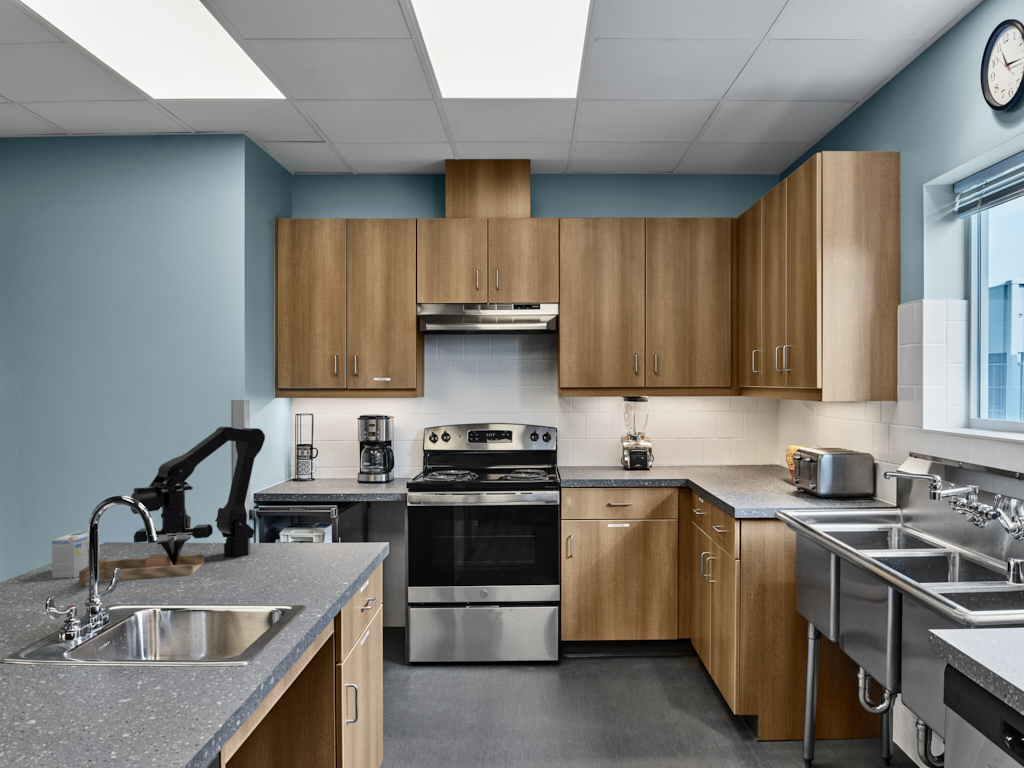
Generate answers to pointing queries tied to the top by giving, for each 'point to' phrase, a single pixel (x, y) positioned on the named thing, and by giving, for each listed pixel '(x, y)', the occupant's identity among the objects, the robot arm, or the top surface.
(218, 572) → the top surface
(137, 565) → the frame
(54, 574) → the light bulb box
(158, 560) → the terracotta block
